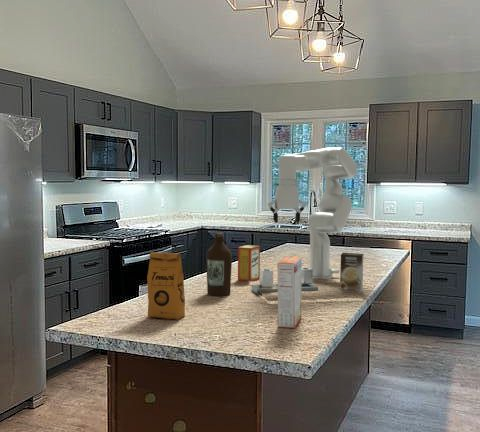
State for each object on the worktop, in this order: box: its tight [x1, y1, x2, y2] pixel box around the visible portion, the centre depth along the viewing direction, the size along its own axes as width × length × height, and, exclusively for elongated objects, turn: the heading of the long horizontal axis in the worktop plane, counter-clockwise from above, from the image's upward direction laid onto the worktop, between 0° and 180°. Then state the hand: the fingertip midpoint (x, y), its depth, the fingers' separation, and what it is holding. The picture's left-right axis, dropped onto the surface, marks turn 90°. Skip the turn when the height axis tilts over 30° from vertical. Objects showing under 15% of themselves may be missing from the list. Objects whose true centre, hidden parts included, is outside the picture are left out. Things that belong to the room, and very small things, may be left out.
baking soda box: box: [237, 244, 261, 282], centre depth 250 cm, size 10×6×16 cm
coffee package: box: [146, 251, 186, 321], centre depth 179 cm, size 10×12×22 cm
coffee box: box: [339, 252, 364, 294], centre depth 224 cm, size 9×6×16 cm
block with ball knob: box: [301, 267, 314, 285], centre depth 234 cm, size 4×4×8 cm
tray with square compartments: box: [251, 283, 319, 296], centre depth 223 cm, size 26×10×2 cm, turn 101°
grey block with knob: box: [259, 268, 274, 288], centre depth 221 cm, size 4×4×8 cm
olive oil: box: [205, 232, 233, 297], centre depth 217 cm, size 11×11×25 cm
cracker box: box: [276, 256, 303, 329], centre depth 173 cm, size 14×6×21 cm, turn 164°
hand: (286, 222), depth 233 cm, fingers open, 9 cm apart
